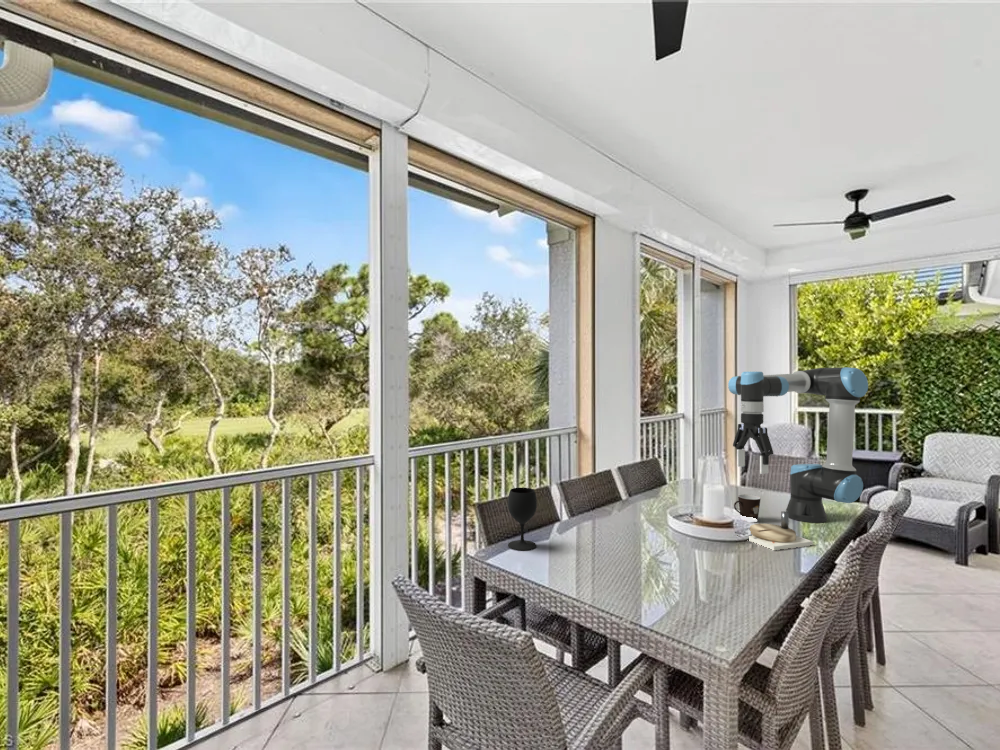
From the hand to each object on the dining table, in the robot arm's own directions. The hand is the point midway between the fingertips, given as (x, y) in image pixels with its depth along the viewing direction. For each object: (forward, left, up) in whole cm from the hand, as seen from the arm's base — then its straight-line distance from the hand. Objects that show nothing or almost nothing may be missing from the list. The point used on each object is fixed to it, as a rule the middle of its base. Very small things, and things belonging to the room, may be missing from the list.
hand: (752, 469), depth 186 cm
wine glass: (+84, -21, -26) cm, 90 cm away
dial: (-7, +2, -24) cm, 25 cm away
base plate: (-7, +2, -26) cm, 27 cm away
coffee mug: (-17, -21, -26) cm, 38 cm away
